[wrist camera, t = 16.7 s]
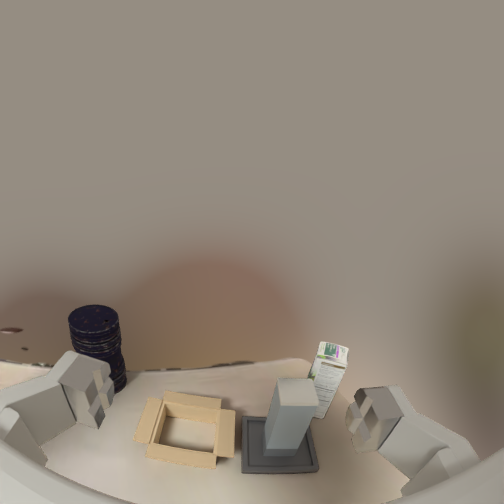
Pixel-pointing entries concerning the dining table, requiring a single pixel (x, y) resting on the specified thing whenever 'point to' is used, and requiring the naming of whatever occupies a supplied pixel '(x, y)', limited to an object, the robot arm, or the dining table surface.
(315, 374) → the syrup box
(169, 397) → the carton
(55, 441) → the dining table surface
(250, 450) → the tray
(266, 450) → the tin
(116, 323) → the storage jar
